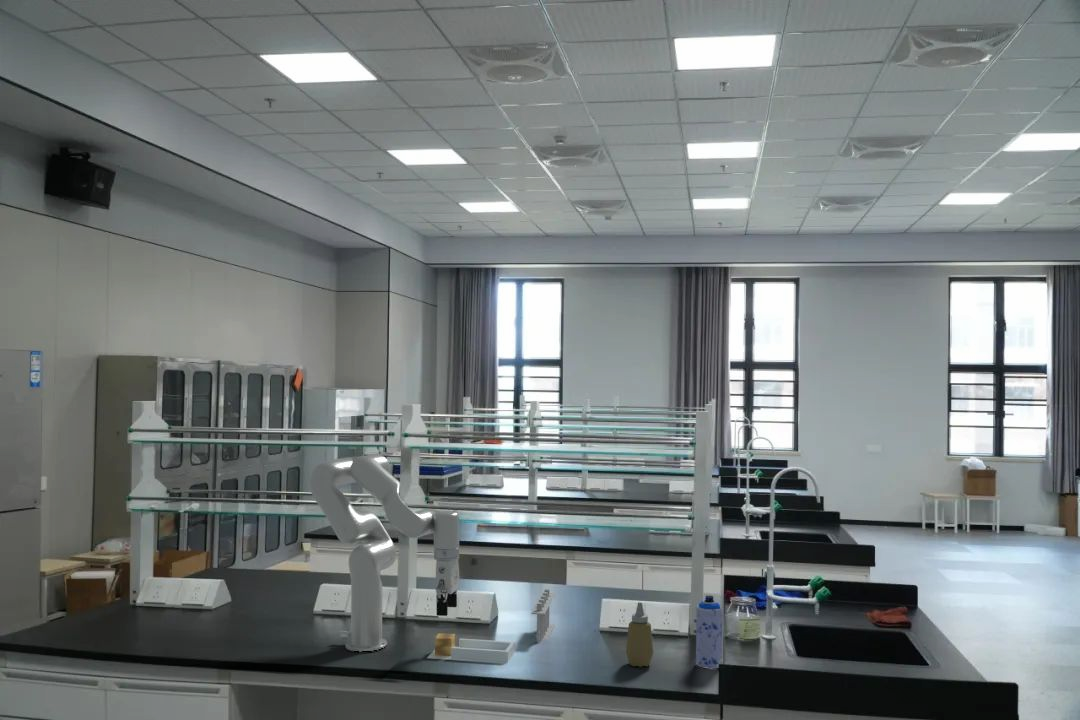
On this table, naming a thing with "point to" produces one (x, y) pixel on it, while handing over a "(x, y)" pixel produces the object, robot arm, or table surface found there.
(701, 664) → the aerosol can
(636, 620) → the squeeze bottle
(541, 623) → the test tube rack
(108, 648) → the table surface
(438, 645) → the block
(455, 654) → the channel
